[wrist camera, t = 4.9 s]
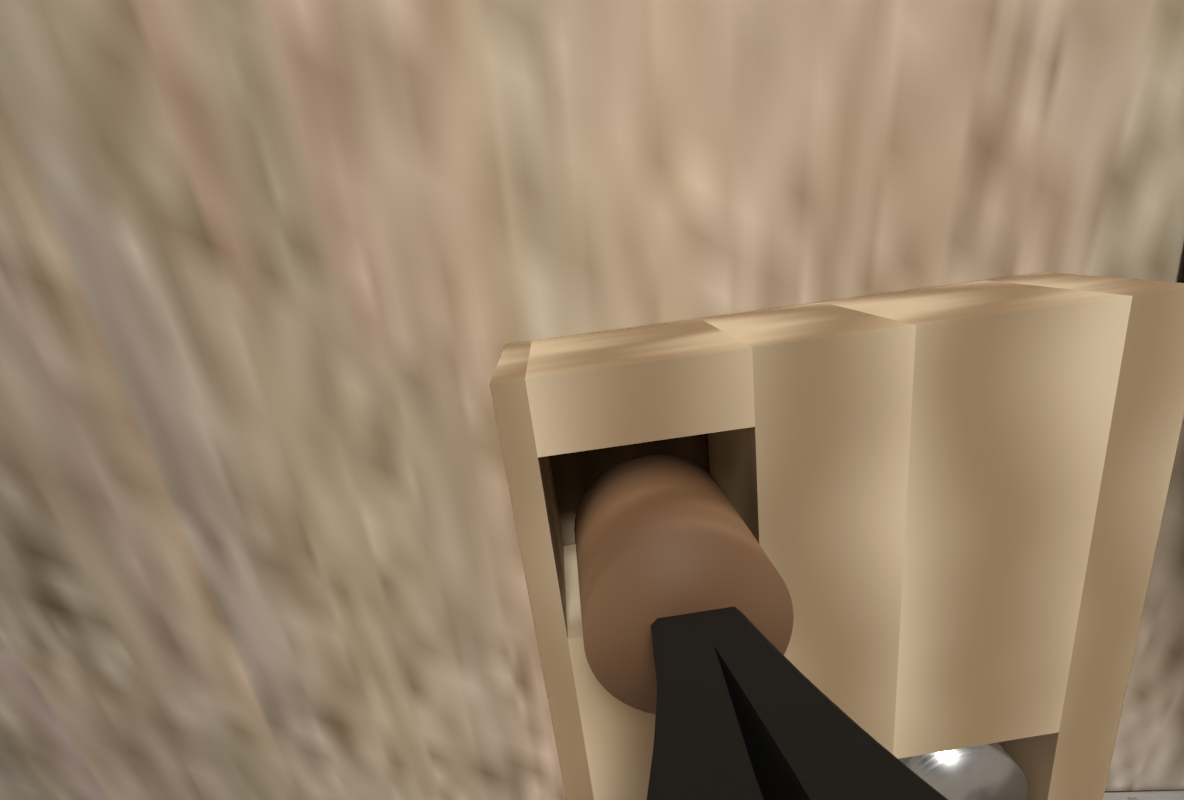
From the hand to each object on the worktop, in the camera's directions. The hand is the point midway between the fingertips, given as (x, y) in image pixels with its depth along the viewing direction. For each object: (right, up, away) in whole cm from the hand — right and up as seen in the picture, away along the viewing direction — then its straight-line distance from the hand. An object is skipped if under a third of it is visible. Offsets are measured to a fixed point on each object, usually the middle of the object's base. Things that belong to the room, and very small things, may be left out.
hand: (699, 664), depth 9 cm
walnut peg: (0, +1, +4) cm, 4 cm away
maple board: (+5, -2, +9) cm, 10 cm away
